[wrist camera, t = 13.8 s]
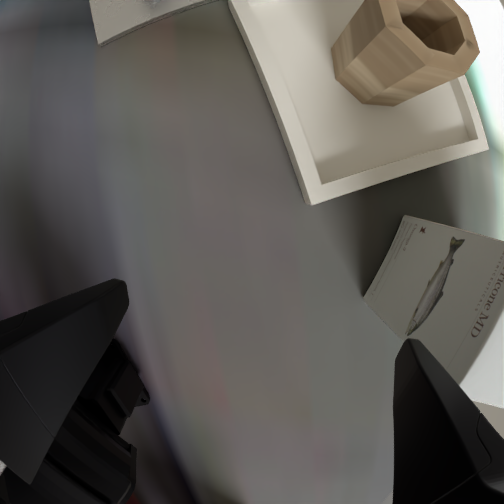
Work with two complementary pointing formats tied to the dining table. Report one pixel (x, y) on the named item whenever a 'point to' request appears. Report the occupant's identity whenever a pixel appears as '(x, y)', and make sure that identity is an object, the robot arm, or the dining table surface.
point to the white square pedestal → (133, 15)
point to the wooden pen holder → (403, 49)
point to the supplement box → (447, 301)
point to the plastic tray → (346, 104)
